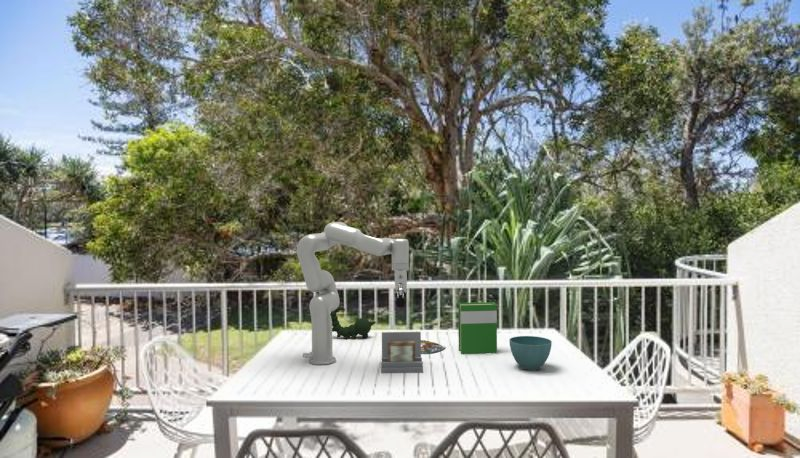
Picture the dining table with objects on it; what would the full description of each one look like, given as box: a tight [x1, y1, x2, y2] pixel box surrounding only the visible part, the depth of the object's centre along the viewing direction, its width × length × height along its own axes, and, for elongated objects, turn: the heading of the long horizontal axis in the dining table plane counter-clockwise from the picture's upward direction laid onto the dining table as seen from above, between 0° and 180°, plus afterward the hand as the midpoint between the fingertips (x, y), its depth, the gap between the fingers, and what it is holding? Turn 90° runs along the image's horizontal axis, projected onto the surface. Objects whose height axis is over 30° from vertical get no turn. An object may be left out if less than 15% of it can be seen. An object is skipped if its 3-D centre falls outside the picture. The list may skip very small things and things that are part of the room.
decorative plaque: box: [421, 339, 446, 355], centre depth 283 cm, size 30×3×30 cm
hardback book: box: [457, 301, 498, 355], centre depth 273 cm, size 18×7×24 cm, turn 94°
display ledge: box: [380, 331, 424, 374], centre depth 247 cm, size 18×18×14 cm
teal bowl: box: [508, 335, 553, 371], centre depth 244 cm, size 18×18×12 cm
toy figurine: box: [330, 306, 377, 340], centre depth 306 cm, size 9×19×25 cm
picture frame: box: [388, 341, 415, 362], centre depth 244 cm, size 12×4×10 cm, turn 90°
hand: (400, 305), depth 244 cm, fingers open, 9 cm apart
